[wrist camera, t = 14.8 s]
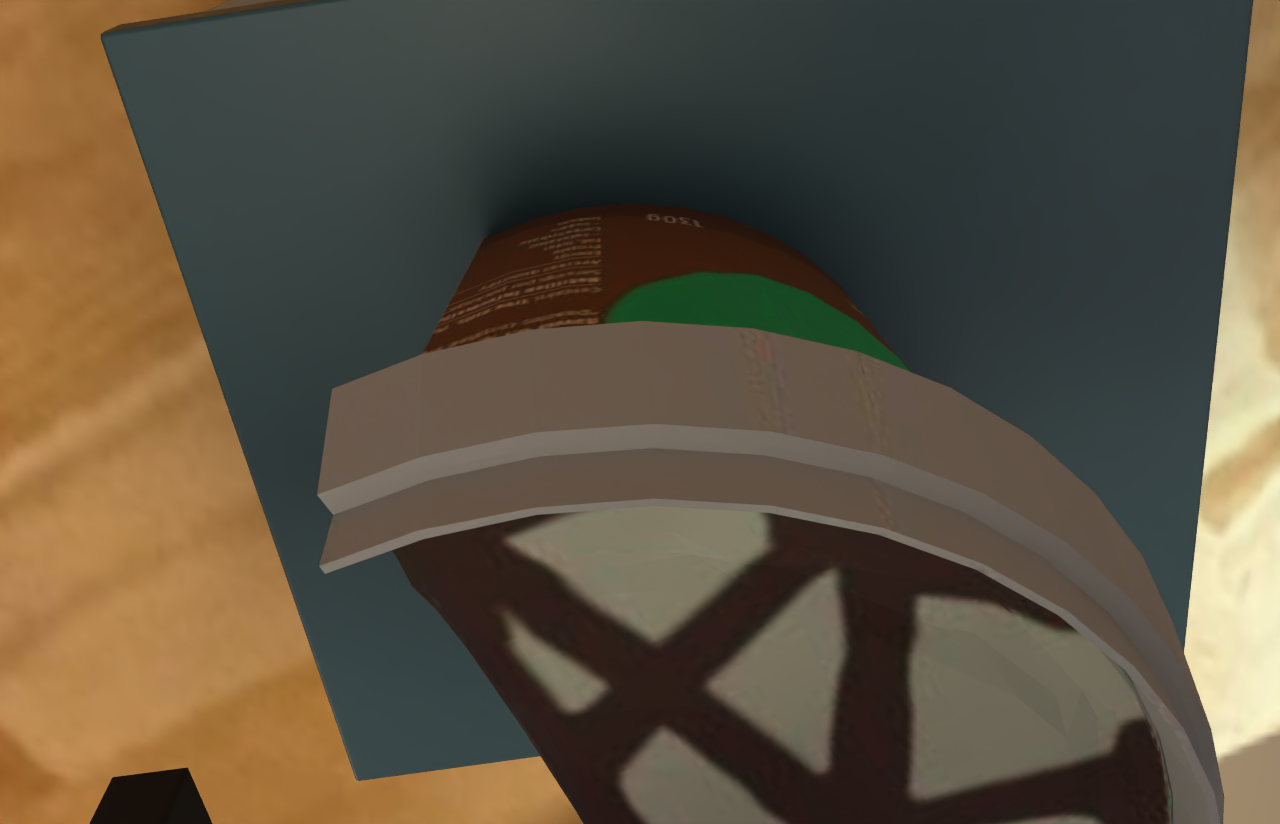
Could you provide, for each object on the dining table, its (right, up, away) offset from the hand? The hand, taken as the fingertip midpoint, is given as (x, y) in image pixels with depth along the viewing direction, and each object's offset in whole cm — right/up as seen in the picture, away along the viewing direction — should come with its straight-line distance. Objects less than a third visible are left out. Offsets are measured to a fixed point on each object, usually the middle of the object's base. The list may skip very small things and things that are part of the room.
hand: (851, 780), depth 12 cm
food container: (0, +4, +8) cm, 9 cm away
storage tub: (-1, +7, +14) cm, 16 cm away
